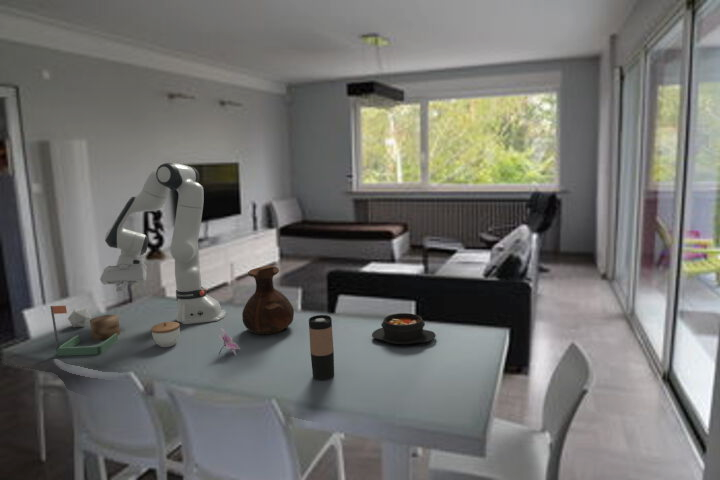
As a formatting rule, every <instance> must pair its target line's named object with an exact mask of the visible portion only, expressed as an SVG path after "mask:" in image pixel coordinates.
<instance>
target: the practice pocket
mask: <svg viewBox="0 0 720 480" xmlns="http://www.w3.org/2000/svg"><path fill="white" fill-rule="evenodd" d="M49 307H50V313H51V317H52V319H51V320H52V326H53V332H54V338H55V344H56V356H57V357H60V356H62V357H63V356H85V355H86V356H87V355H88V356H89V355H101V354H102V353H104V352H105V351H106V350H107V349H109V348H110V347H112V346H113V345H114V344H115V343H117V342H118V341H119V337H118V336H119V335H117V334H114V335H112V336H111V337H110V338H108V339H105V340H104V341H103V342H101V343H99V344H98V345H92V346H91V345H89V346H88V345H87V346H86V345H85V346H76V345H78V344H80V343H81V338H80V335H79V334H77V335H75V336H73V337H72V338H70V339H69V340H67V341H66V342H64V343H63V344H61V345H59V343H60V342H59V337H58V331H57V326H56V323H57V322H56V317H55V315H59V314H60V315H61V314H67V312H68V310H67V306H66V305H50V306H49Z"/></svg>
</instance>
